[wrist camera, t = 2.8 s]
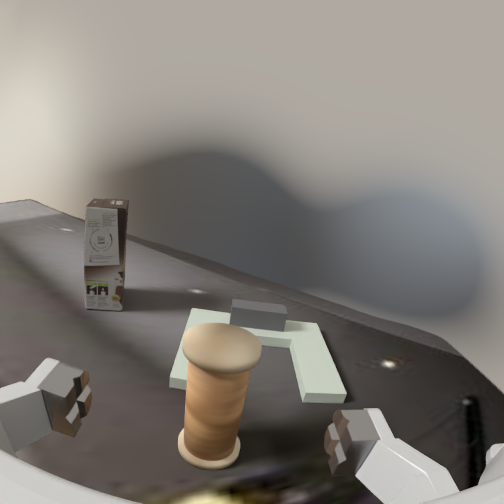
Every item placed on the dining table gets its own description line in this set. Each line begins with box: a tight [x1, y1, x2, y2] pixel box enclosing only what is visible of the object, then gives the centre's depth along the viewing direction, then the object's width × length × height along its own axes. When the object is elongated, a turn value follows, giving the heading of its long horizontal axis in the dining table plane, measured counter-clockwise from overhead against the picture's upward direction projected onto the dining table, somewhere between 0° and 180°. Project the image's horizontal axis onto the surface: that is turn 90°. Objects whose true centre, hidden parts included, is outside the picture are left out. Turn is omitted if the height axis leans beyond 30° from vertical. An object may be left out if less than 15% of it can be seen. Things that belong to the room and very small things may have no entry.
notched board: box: [170, 299, 347, 403], centre depth 42 cm, size 20×18×4 cm
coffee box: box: [84, 199, 129, 311], centre depth 48 cm, size 9×6×16 cm
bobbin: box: [178, 323, 262, 470], centre depth 24 cm, size 6×6×12 cm
